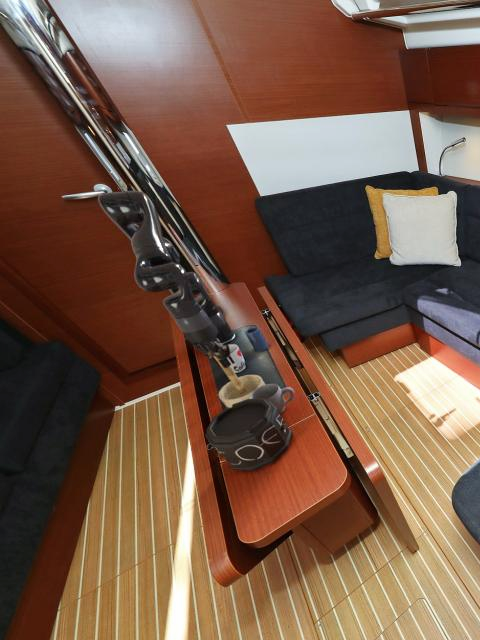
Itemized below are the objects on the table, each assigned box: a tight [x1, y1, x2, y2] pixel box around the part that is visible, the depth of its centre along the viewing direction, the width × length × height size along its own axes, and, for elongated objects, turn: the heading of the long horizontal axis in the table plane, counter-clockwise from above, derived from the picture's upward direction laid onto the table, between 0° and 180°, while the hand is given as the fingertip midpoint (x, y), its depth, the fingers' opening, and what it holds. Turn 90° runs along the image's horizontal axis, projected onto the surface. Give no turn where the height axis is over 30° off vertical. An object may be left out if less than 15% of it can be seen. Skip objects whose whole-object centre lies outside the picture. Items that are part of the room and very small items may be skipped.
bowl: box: [218, 374, 267, 408], centre depth 120 cm, size 13×13×7 cm
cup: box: [227, 343, 246, 374], centre depth 133 cm, size 8×8×10 cm
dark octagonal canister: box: [205, 399, 293, 471], centre depth 101 cm, size 18×18×16 cm
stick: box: [213, 354, 247, 394], centre depth 115 cm, size 2×2×18 cm
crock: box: [244, 326, 270, 353], centre depth 145 cm, size 5×5×10 cm
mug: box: [250, 383, 295, 415], centre depth 116 cm, size 12×9×10 cm
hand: (224, 365), depth 113 cm, fingers closed on stick, 2 cm apart
